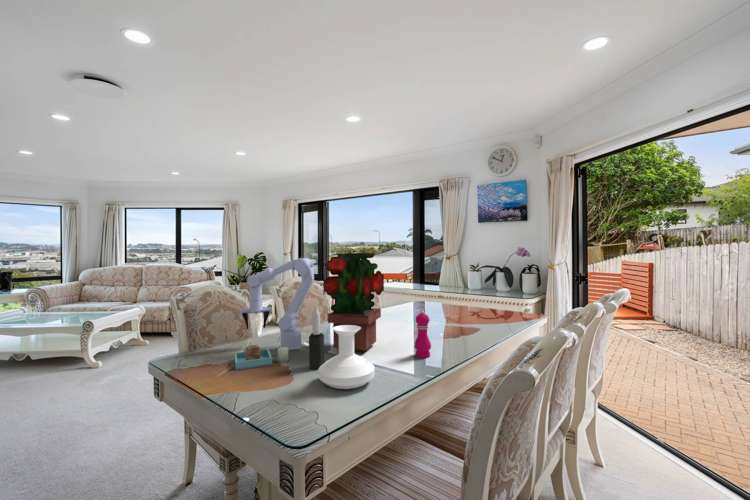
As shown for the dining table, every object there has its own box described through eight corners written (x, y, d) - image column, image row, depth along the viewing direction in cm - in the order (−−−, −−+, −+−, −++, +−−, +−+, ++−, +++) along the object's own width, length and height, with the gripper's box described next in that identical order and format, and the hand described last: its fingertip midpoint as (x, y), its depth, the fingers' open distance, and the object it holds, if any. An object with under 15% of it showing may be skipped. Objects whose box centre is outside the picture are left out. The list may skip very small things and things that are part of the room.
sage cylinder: (287, 357, 153) (287, 346, 153) (289, 360, 148) (289, 349, 148) (277, 359, 151) (276, 347, 151) (278, 362, 147) (278, 350, 147)
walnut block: (256, 358, 150) (256, 344, 150) (259, 361, 146) (259, 346, 146) (245, 360, 148) (245, 346, 148) (248, 363, 144) (248, 348, 144)
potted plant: (324, 353, 158) (323, 254, 158) (342, 340, 180) (341, 253, 179) (370, 357, 152) (369, 253, 152) (384, 343, 173) (383, 252, 173)
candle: (320, 369, 137) (319, 306, 137) (308, 369, 138) (307, 305, 138) (325, 365, 142) (324, 304, 142) (313, 364, 143) (312, 303, 143)
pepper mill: (430, 353, 157) (430, 308, 157) (431, 358, 150) (431, 311, 149) (414, 353, 157) (414, 308, 157) (414, 358, 150) (414, 311, 150)
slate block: (274, 352, 161) (274, 346, 161) (275, 355, 157) (275, 348, 157) (265, 353, 160) (265, 347, 159) (265, 356, 156) (265, 349, 156)
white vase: (346, 368, 138) (345, 320, 138) (386, 380, 125) (385, 326, 125) (306, 384, 123) (305, 329, 123) (347, 399, 110) (347, 338, 110)
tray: (268, 355, 156) (268, 348, 156) (272, 365, 143) (272, 357, 143) (234, 359, 151) (234, 352, 150) (235, 370, 138) (235, 362, 138)
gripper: (270, 297, 176) (270, 324, 176) (239, 299, 170) (239, 327, 170) (272, 299, 169) (272, 327, 169) (239, 301, 163) (240, 330, 163)
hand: (256, 327), depth 169 cm, fingers open, 7 cm apart
